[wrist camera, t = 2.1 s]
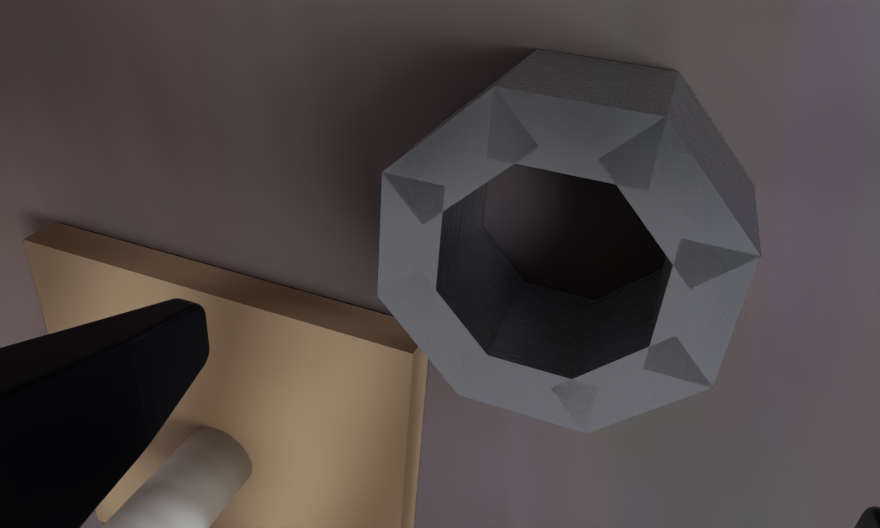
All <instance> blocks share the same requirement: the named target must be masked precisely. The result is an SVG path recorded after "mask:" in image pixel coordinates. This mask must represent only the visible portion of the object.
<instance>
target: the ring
mask: <svg viewBox="0 0 880 528" xmlns="http://www.w3.org/2000/svg"><path fill="white" fill-rule="evenodd" d="M513 164H519V165H524V166H529V167H534V168H539V169H544V170H548V171H553V172H558V173H563V174H568V175H573V176H577V177H582V178H587V179H592V180H597V181H602V182H606V183H611V184H616V185H617V186H618V188H619V189H620V191H621V192H622V194H623V195H624V196H625V198H626V199H627V201H628V202H629V203H630V205H631V206H632V208H633V209H634V211H635V212H636V213H637V215H638V216H639V218H640V219H641V220H642V222H643V223H644V225H645V226H646V228H647V229H648V230H649V232H650V233H651V235H652V236H653V237H654V239H655V240H656V242H657V243H658V244H659V246H660V247H661V249H662V250H663V252H664V253H665V254H666V256H665V259H664V263H663V266H662V268H660V269H658V270H656V271H654V272H652V273H650V274H648V275H646V276H644V277H642V278H640V279H638V280H636V281H634V282H632V283H630V284H627V285H625V286H623V287H621V288H619V289H617V290H615V291H613V292H611V293H609V294H607V295H605V296H603V297H601V298H599V299H597V300H596V299H592V298H588V297H584V296H580V295H576V294H572V293H568V292H564V291H560V290H556V289H552V288H548V287H544V286H540V285H536V284H532V283H528V282H525V281H524V280H523V279H522V278H521V276H520V275H519V274H518V272H517V271H516V270H515V268H514V267H513V266H512V264H511V263H510V262H509V260H508V259H507V258H506V257H505V255H504V254H503V253H502V251H501V250H500V249H499V247H498V246H497V245H496V243H495V242H494V241H493V239H492V238H491V237H490V235H489V234H488V233H487V232H486V230H485V229H484V228H483V226H482V220H483V212H484V204H485V195H486V187H487V182H488V181H489V180H491V179H492V178H494V177H495V176H497V175H498V174H500V173H501V172H503V171H504V170H506V169H507V168H509V167H510V166H512V165H513ZM760 257H761V250H760V240H759V230H758V220H757V210H756V200H755V190H754V185H753V184H752V182H751V181H750V179H749V178H748V176H747V175H746V173H745V172H744V170H743V169H742V167H741V166H740V164H739V162H738V161H737V159H736V158H735V156H734V155H733V153H732V152H731V150H730V149H729V147H728V146H727V144H726V143H725V141H724V140H723V138H722V137H721V135H720V134H719V132H718V131H717V129H716V128H715V126H714V125H713V123H712V122H711V120H710V119H709V117H708V116H707V114H706V113H705V111H704V110H703V108H702V107H701V105H700V104H699V102H698V101H697V99H696V98H695V96H694V95H693V93H692V91H691V90H690V88H689V87H688V85H687V84H686V82H685V81H684V79H683V78H682V76H681V75H680V73H679V72H678V71H673V70H667V69H661V68H654V67H648V66H642V65H636V64H629V63H623V62H617V61H611V60H604V59H598V58H592V57H586V56H579V55H573V54H567V53H561V52H554V51H548V50H542V49H536V50H535V51H534V52H533V53H531V54H530V55H529V56H527V57H526V58H525V59H523V60H522V61H521V62H519V63H518V64H517V65H516V66H514V67H513V68H512V69H510V70H509V71H508V72H506V73H505V74H504V75H503V76H501V77H500V78H499V79H497V80H496V81H495V82H493V83H492V84H491V85H490V86H488V87H487V88H486V89H484V90H483V91H482V92H480V93H479V94H478V95H477V96H475V97H474V98H473V99H471V100H470V101H469V102H467V103H466V104H465V105H463V106H462V107H461V108H460V109H458V110H457V111H456V112H454V113H453V114H452V115H450V116H449V117H448V118H447V119H445V120H444V121H443V122H441V123H440V124H439V125H438V126H436V127H435V128H434V129H433V130H432V131H430V132H429V133H428V134H427V135H426V136H424V137H423V138H422V139H421V140H420V141H418V142H417V143H416V144H415V145H414V146H412V147H411V148H410V149H409V150H408V151H407V152H405V153H404V154H403V155H402V156H401V157H399V158H398V159H397V160H396V161H395V162H393V163H392V164H391V165H390V166H389V167H387V168H386V169H385V170H384V171H383V172H382V185H381V212H380V240H379V267H378V295H377V296H378V297H379V299H380V300H381V301H382V302H383V304H384V305H385V306H386V307H387V308H388V310H389V311H390V312H391V313H392V315H393V316H394V317H395V318H396V319H397V321H398V322H399V323H400V324H401V326H402V327H403V328H404V329H405V331H406V332H407V333H408V334H409V335H410V337H411V338H412V339H413V340H414V342H415V343H416V344H417V345H418V346H419V348H420V349H421V350H422V351H423V353H424V354H425V355H426V356H427V358H428V359H429V360H430V361H431V362H432V364H433V365H434V366H435V367H436V369H437V370H438V371H439V372H440V373H441V375H442V376H443V377H444V378H445V380H446V381H447V382H448V383H449V385H450V386H451V387H452V388H453V389H454V391H455V392H456V393H457V394H458V395H460V396H464V397H467V398H470V399H473V400H477V401H480V402H483V403H487V404H490V405H493V406H496V407H500V408H503V409H506V410H510V411H513V412H516V413H519V414H523V415H526V416H529V417H533V418H536V419H539V420H542V421H546V422H549V423H552V424H556V425H559V426H562V427H565V428H569V429H572V430H575V431H578V432H582V433H585V434H587V433H590V432H592V431H595V430H598V429H601V428H603V427H606V426H609V425H612V424H614V423H617V422H620V421H623V420H625V419H628V418H631V417H634V416H636V415H639V414H642V413H645V412H647V411H650V410H653V409H656V408H658V407H661V406H664V405H667V404H669V403H672V402H675V401H678V400H680V399H683V398H686V397H689V396H691V395H694V394H697V393H700V392H702V391H705V390H708V389H711V388H713V385H714V383H715V380H716V377H717V374H718V372H719V369H720V366H721V364H722V361H723V358H724V355H725V353H726V350H727V347H728V345H729V342H730V339H731V336H732V334H733V331H734V328H735V325H736V323H737V320H738V317H739V315H740V312H741V309H742V306H743V304H744V301H745V298H746V295H747V293H748V290H749V287H750V285H751V282H752V279H753V276H754V274H755V271H756V268H757V265H758V263H759V260H760Z"/></svg>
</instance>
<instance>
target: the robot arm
mask: <svg viewBox="0 0 880 528" xmlns="http://www.w3.org/2000/svg"><path fill="white" fill-rule="evenodd" d="M209 351H210V345H209V337H208V329H207V320H206V313H205V310H204V308H203V307H202V306H201V305H200V304H198V303H195V302H191V301H188V300H185V299H180V298H174V299H170V300H167V301H163V302H160V303H156V304H153V305H149V306H146V307H142V308H139V309H135V310H132V311H128V312H125V313H121V314H118V315H114V316H111V317H107V318H104V319H100V320H97V321H93V322H90V323H86V324H83V325H79V326H76V327H72V328H69V329H65V330H62V331H58V332H55V333H51V334H48V335H44V336H41V337H37V338H34V339H30V340H27V341H23V342H20V343H16V344H13V345H9V346H6V347H2V348H0V528H80V527H81V526H82V524H83V523H84V522H85V521H86V520H87V518H88V517H89V516H90V515H91V514H92V513H93V511H94V510H95V509H96V508H97V507H98V505H99V504H100V503H101V502H102V501H103V500H104V498H105V497H106V496H107V495H108V494H109V493H110V491H111V490H112V489H113V488H114V487H115V485H116V484H117V483H118V482H119V481H120V480H121V478H122V477H123V476H124V475H125V474H126V472H127V471H128V470H129V469H130V468H131V467H132V465H133V464H134V463H135V462H136V461H137V459H138V458H139V457H140V456H141V455H142V453H143V452H144V451H145V450H146V448H147V447H148V446H149V445H150V443H151V442H152V440H153V439H154V438H155V436H156V435H157V434H158V432H159V431H160V429H161V428H162V427H163V425H164V424H165V422H166V421H167V419H168V418H169V416H170V415H171V414H172V412H173V411H174V409H175V408H176V406H177V405H178V403H179V402H180V400H181V399H182V398H183V396H184V395H185V393H186V392H187V390H188V389H189V387H190V386H191V384H192V383H193V382H194V380H195V379H196V377H197V376H198V374H199V373H200V371H201V370H202V368H203V367H204V365H205V364H206V362H207V359H208V356H209ZM855 528H880V507H869V508H868V509H866V510H865V511H864V512H863V514H862V515H861V517H860V519H859V521H858V522H857V524H856V526H855Z"/></svg>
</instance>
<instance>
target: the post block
mask: <svg viewBox="0 0 880 528" xmlns="http://www.w3.org/2000/svg"><path fill="white" fill-rule="evenodd" d="M23 241H24V245H25V248H26V252H27V256H28V260H29V263H30V267H31V271H32V275H33V278H34V282H35V286H36V289H37V293H38V297H39V301H40V304H41V308H42V312H43V316H44V319H45V323H46V327H47V331H48V334H51V333H55V332H58V331H62V330H65V329H69V328H72V327H76V326H79V325H83V324H86V323H90V322H93V321H97V320H100V319H104V318H107V317H111V316H114V315H118V314H121V313H125V312H128V311H132V310H135V309H139V308H142V307H146V306H149V305H153V304H156V303H160V302H163V301H167V300H170V299H174V298H180V299H185V300H188V301H191V302H195V303H198V304H200V305H201V306H202V307H203V308H204V310H205V313H206V320H207V329H208V337H209V345H210V351H209V356H208V359H207V362H206V364H205V365H204V367H203V368H202V370H201V371H200V373H199V374H198V376H197V377H196V379H195V380H194V382H193V383H192V384H191V386H190V387H189V389H188V390H187V392H186V393H185V395H184V396H183V398H182V399H181V400H180V402H179V403H178V405H177V406H176V408H175V409H174V411H173V412H172V414H171V415H170V416H169V418H168V419H167V421H166V422H165V424H164V425H163V427H162V428H161V429H160V431H159V432H158V434H157V435H156V436H155V438H154V439H153V440H152V442H151V443H150V445H149V446H148V447H147V448H146V450H145V451H144V452H143V453H142V455H141V456H140V457H139V458H138V459H137V461H136V462H135V463H134V464H133V465H132V467H131V468H130V469H129V470H128V471H127V472H126V474H125V475H124V476H123V477H122V478H121V480H120V481H119V482H118V483H117V484H116V485H115V487H114V488H113V489H112V490H111V491H110V493H109V494H108V495H107V496H106V497H105V498H104V500H103V501H102V502H101V503H100V504H99V505H98V507H97V508H96V509H95V510H96V514H97V517H98V520H99V521H102V522H104V523H105V524H104V525H103V526H102V527H101V528H413V527H414V516H415V504H416V493H417V481H418V469H419V458H420V446H421V435H422V423H423V412H424V400H425V389H426V377H427V365H428V358H427V356H426V355H425V354H424V353H423V351H422V350H421V349H420V348H419V346H418V345H417V344H416V343H415V342H414V340H413V339H412V338H411V337H410V335H409V334H408V333H407V332H406V331H405V329H404V328H403V327H402V326H401V324H400V323H399V322H398V321H397V319H396V318H395V317H392V316H389V315H385V314H382V313H378V312H375V311H371V310H367V309H364V308H360V307H357V306H353V305H350V304H346V303H342V302H339V301H335V300H332V299H328V298H325V297H321V296H318V295H314V294H310V293H307V292H303V291H300V290H296V289H293V288H289V287H285V286H282V285H278V284H275V283H271V282H268V281H264V280H260V279H257V278H253V277H250V276H246V275H243V274H239V273H235V272H232V271H228V270H225V269H221V268H218V267H214V266H211V265H207V264H203V263H200V262H196V261H193V260H189V259H186V258H182V257H178V256H175V255H171V254H168V253H164V252H161V251H157V250H153V249H150V248H146V247H143V246H139V245H136V244H132V243H128V242H125V241H121V240H118V239H114V238H111V237H107V236H104V235H100V234H96V233H93V232H89V231H86V230H82V229H79V228H75V227H71V226H68V225H64V224H61V223H55V224H53V225H51V226H49V227H47V228H45V229H43V230H41V231H39V232H37V233H35V234H33V235H31V236H29V237H27V238H25V239H23Z"/></svg>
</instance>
